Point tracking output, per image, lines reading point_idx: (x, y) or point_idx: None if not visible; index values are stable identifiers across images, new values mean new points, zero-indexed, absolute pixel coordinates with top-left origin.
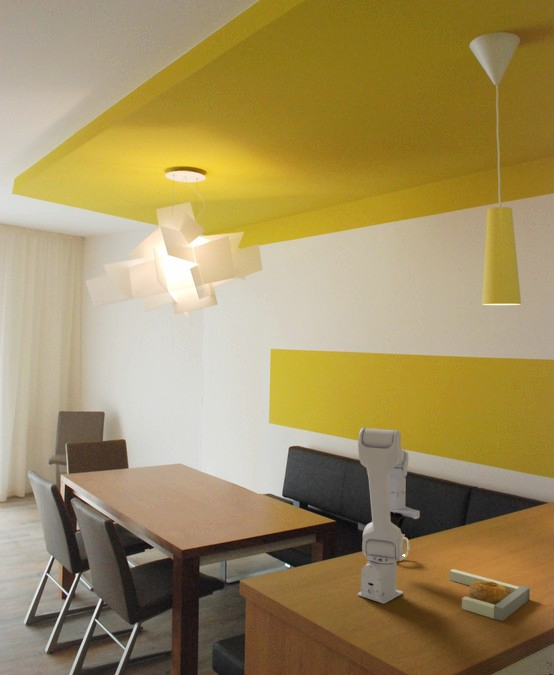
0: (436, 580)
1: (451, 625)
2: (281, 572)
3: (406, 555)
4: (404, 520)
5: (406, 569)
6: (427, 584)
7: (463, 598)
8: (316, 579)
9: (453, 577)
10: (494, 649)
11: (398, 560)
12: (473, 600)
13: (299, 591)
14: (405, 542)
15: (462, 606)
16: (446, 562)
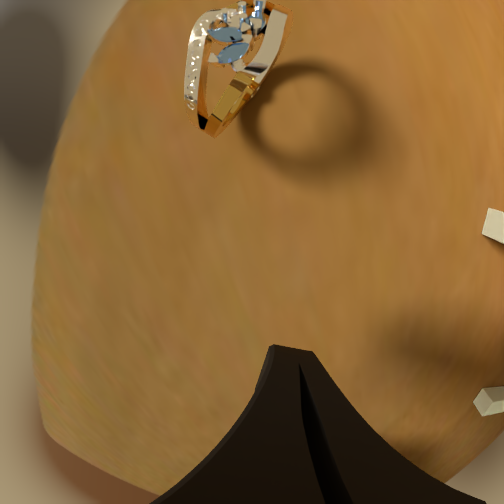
0: (447, 263)
1: (435, 456)
2: (40, 393)
3: (278, 55)
4: (434, 488)
5: (320, 195)
6: (420, 319)
7: (484, 414)
8: (107, 414)
9: (498, 241)
10: (468, 461)
11: (248, 100)
12: (498, 408)
13: (131, 462)
14: (266, 14)
15: (475, 405)
16: (432, 33)
